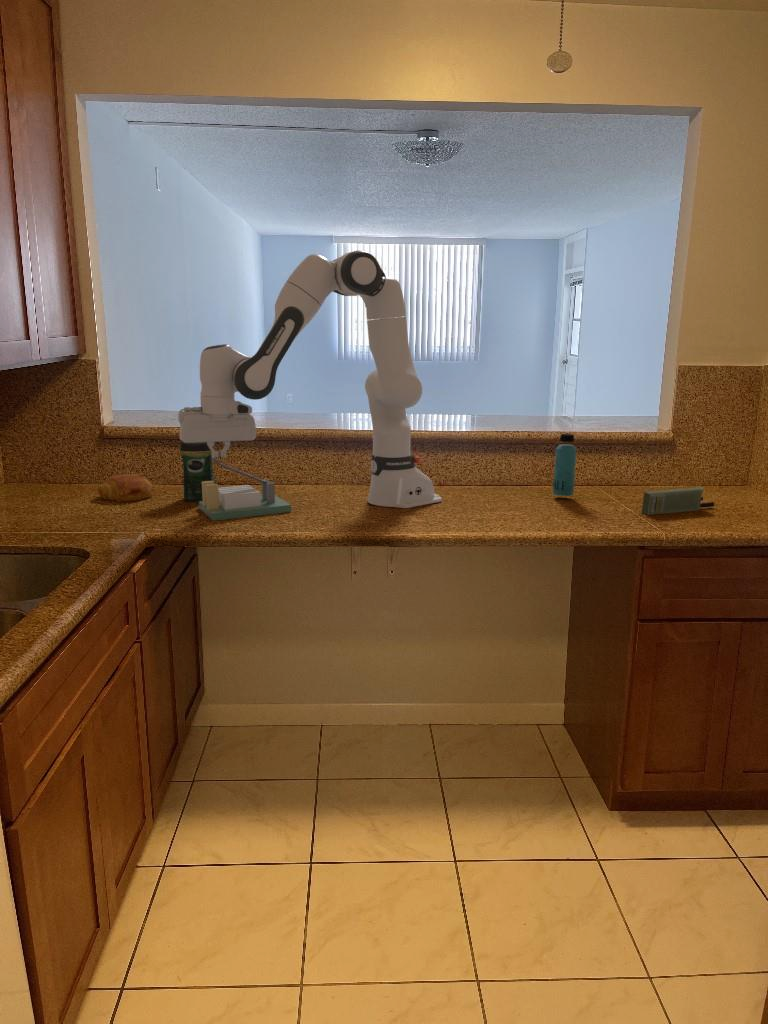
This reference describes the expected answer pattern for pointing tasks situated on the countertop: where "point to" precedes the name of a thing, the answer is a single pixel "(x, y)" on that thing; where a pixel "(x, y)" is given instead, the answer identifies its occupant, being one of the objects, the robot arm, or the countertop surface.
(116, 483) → the croissant
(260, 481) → the retention strap
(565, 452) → the beverage bottle
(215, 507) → the board
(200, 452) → the coffee jar
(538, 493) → the countertop surface
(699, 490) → the handheld radio
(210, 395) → the robot arm
